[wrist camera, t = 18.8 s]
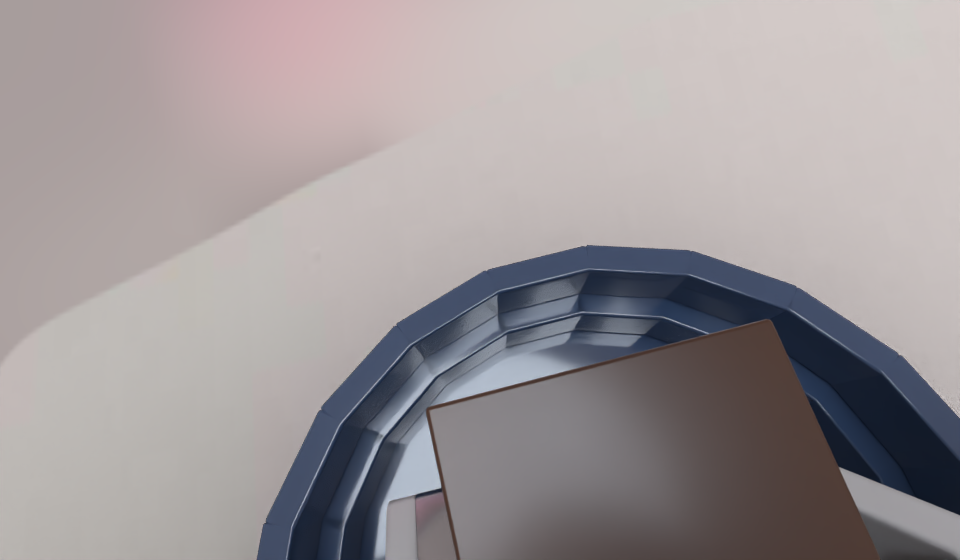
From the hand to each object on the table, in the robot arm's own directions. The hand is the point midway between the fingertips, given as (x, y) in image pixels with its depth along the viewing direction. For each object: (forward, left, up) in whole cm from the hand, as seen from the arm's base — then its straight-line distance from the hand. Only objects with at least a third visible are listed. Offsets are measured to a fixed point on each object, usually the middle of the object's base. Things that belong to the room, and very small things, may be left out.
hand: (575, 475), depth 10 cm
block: (0, -1, -5) cm, 5 cm away
